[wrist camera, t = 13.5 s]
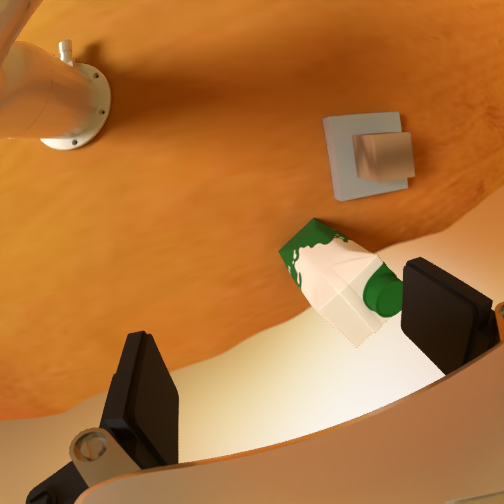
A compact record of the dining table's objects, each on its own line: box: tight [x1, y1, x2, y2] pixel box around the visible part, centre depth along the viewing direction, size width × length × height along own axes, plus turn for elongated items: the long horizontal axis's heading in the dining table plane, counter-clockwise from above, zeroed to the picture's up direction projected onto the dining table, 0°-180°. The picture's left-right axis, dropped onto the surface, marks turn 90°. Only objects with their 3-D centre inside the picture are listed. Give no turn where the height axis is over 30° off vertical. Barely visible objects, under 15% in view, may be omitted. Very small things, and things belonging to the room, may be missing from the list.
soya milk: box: [279, 218, 403, 348], centre depth 37 cm, size 9×9×20 cm
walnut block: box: [352, 132, 415, 183], centre depth 38 cm, size 6×6×6 cm
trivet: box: [322, 112, 408, 201], centre depth 41 cm, size 12×12×2 cm
